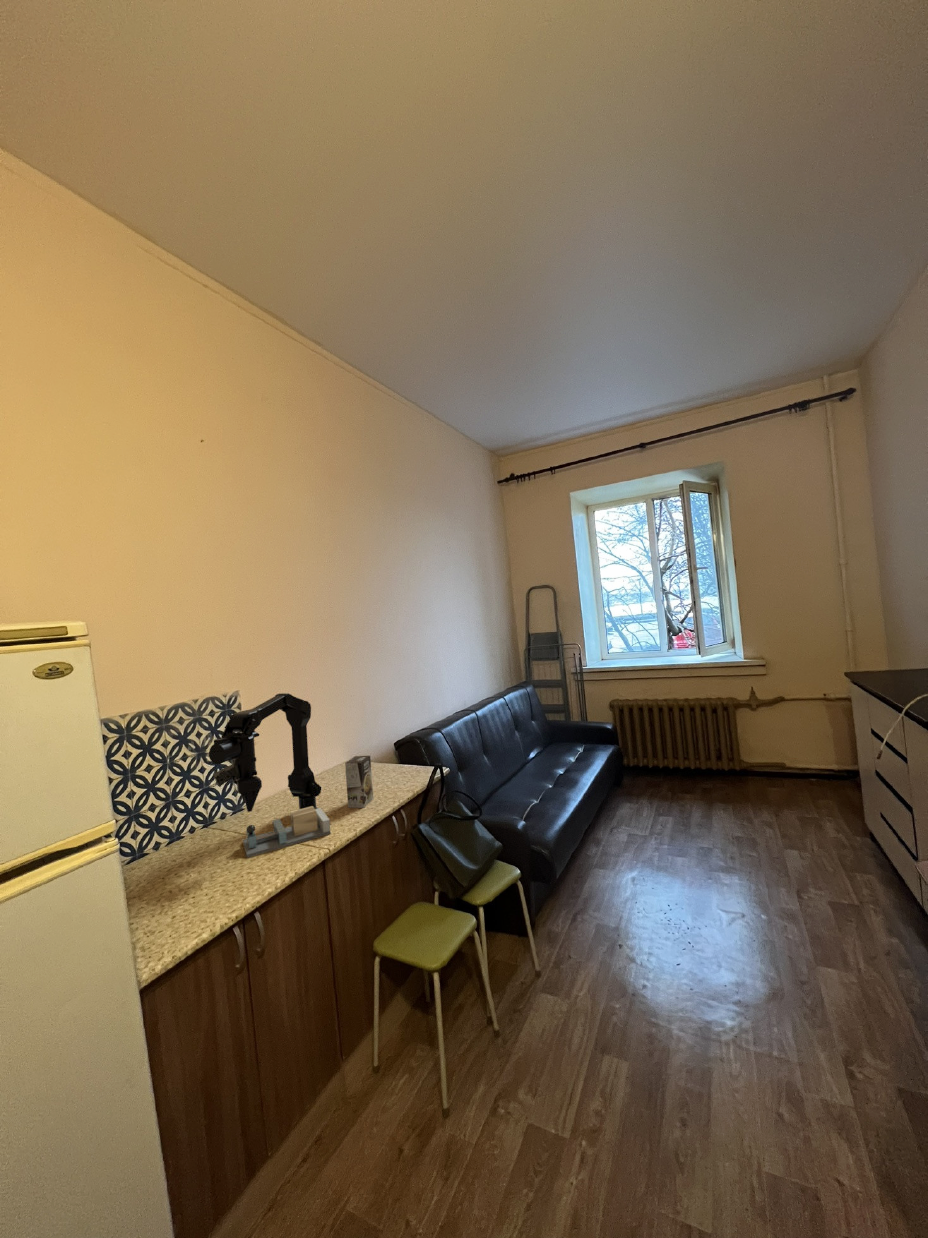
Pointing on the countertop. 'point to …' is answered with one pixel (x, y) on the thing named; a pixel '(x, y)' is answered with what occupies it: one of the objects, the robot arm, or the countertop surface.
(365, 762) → the coffee box
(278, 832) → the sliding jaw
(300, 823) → the oak block
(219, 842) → the countertop surface
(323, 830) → the vise bed
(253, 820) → the countertop surface
